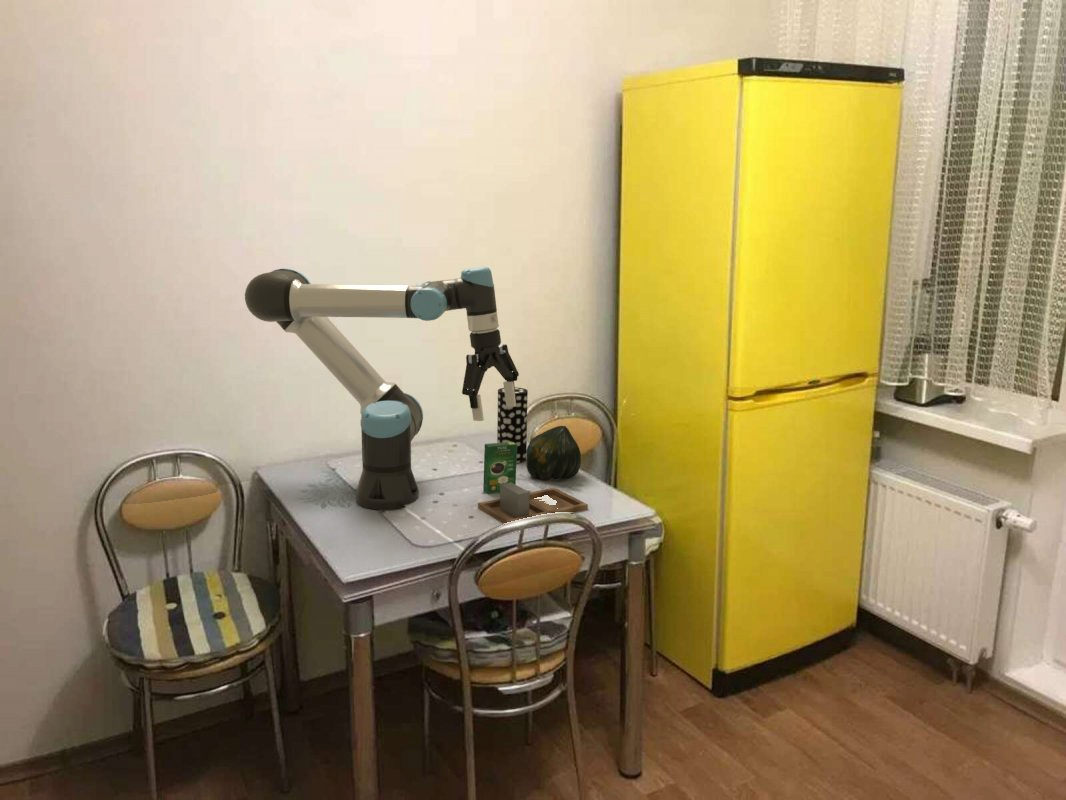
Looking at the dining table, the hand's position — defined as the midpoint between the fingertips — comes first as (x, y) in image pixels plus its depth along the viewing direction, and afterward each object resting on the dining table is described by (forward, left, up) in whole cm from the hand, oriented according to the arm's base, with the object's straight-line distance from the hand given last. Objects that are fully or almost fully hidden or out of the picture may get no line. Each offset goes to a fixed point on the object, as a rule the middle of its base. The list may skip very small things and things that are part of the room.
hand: (495, 413), depth 217 cm
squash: (+17, -2, -19) cm, 26 cm away
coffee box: (-2, -6, -19) cm, 20 cm away
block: (-7, -21, -18) cm, 29 cm away
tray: (-2, -21, -19) cm, 29 cm away
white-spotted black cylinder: (+16, +17, -19) cm, 30 cm away
